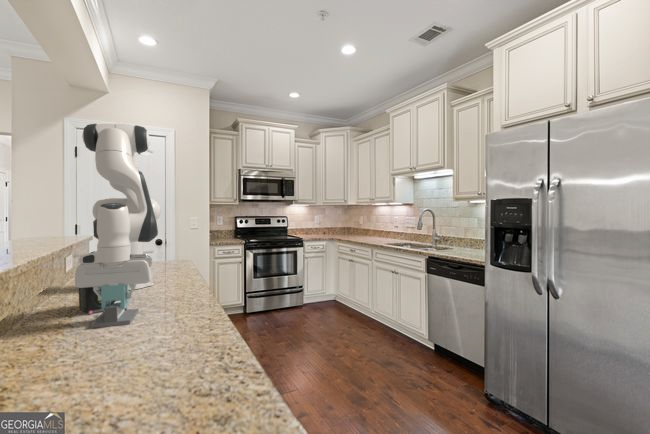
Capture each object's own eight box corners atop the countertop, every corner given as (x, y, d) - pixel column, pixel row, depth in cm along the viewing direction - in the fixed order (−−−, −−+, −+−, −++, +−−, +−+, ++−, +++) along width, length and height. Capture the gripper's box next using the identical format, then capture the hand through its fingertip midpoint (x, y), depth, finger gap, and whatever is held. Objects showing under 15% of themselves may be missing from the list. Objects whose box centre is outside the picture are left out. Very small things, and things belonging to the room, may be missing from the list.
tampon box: (88, 315, 108) (86, 270, 107) (78, 309, 113) (77, 267, 113) (124, 307, 117) (123, 265, 116) (113, 302, 122) (112, 263, 122)
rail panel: (103, 315, 107) (103, 298, 107) (138, 312, 111) (138, 295, 111) (90, 328, 96) (90, 309, 96) (129, 324, 99) (129, 305, 99)
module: (107, 306, 105) (106, 280, 105) (128, 304, 107) (128, 279, 106) (101, 311, 100) (101, 284, 99) (124, 309, 101) (123, 283, 101)
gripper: (153, 252, 109) (154, 293, 109) (80, 255, 102) (81, 299, 103) (150, 254, 103) (150, 298, 103) (71, 258, 96) (73, 305, 97)
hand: (115, 299), depth 103 cm, fingers closed on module, 6 cm apart
